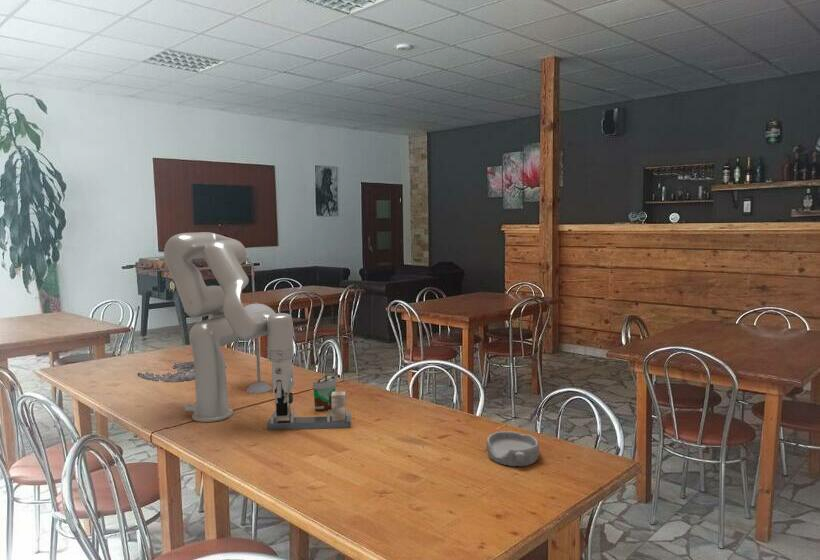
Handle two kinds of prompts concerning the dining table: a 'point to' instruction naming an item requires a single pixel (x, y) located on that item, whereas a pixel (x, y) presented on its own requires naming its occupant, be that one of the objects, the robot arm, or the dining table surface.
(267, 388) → the lamp
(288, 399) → the block
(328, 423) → the rail
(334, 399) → the block
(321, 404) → the food container
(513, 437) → the dish
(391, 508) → the dining table surface
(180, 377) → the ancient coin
